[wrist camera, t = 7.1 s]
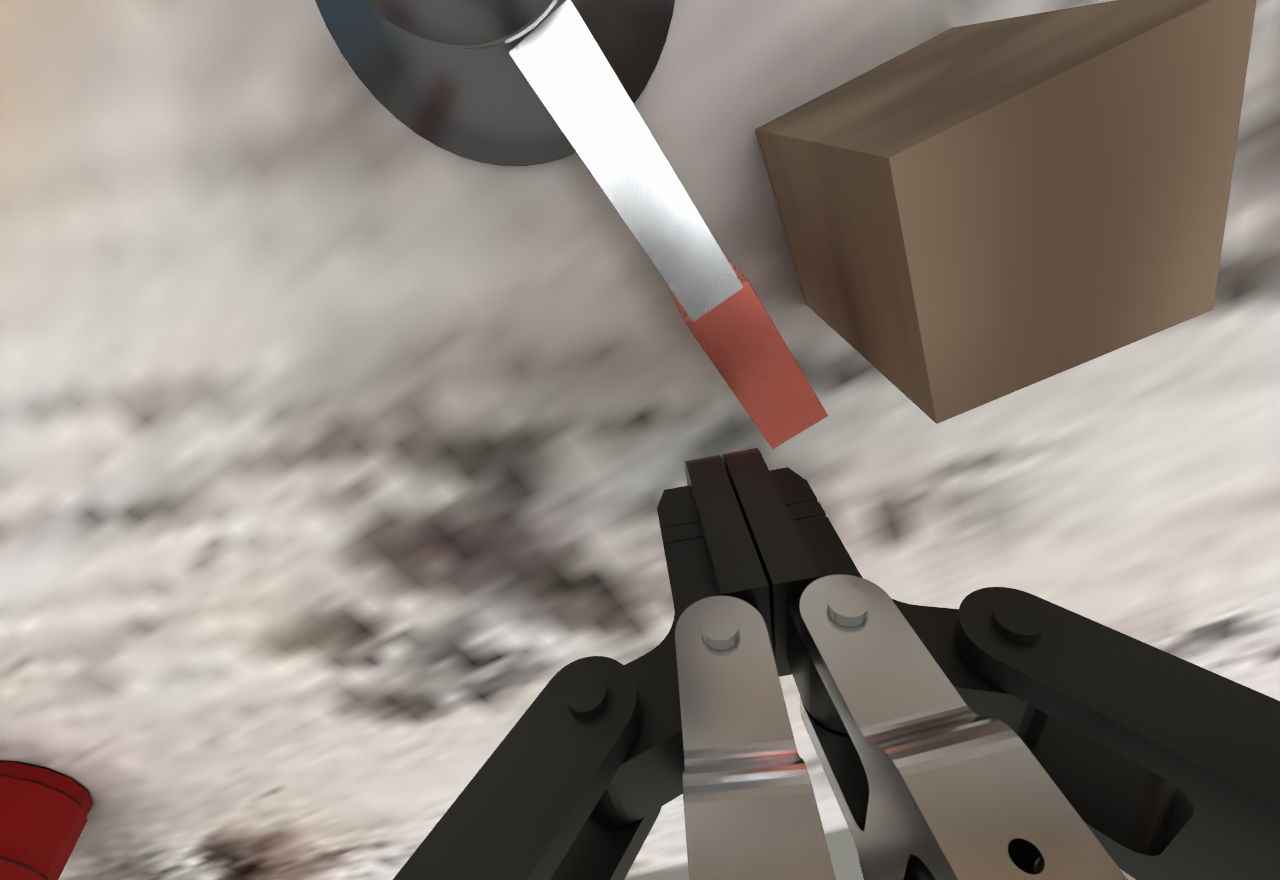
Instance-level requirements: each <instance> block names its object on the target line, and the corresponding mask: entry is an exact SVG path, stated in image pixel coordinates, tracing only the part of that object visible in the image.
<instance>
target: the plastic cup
mask: <svg viewBox="0 0 1280 880" xmlns="http://www.w3.org/2000/svg"><path fill="white" fill-rule="evenodd" d="M91 806H92V801H91V799H90V796H89V794H88V791H86V790H85V789H84V788H82V787H81V786H80V785H78V784H77V783H76V782H75V781H73V780H72V779H70V778H67V777H65V776H62V775H60V774H57V773H55V772H52V771H50V770H48V769H44V768H39V767H34V766H29V765H25V764H20V763H15V762H0V880H58V879H59V877H60V875H61V873H62V871H63V869H64V867H65V865H66V863H67V861H68V859H69V857H70V855H71V853H72V851H73V849H74V846H75V844H76V842H77V840H78V838H79V836H80V834H81V832H82V830H83V828H84V826H85V824H86V822H87V818H86V816H87V814H88V812H89V810H90V808H91Z"/></svg>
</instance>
